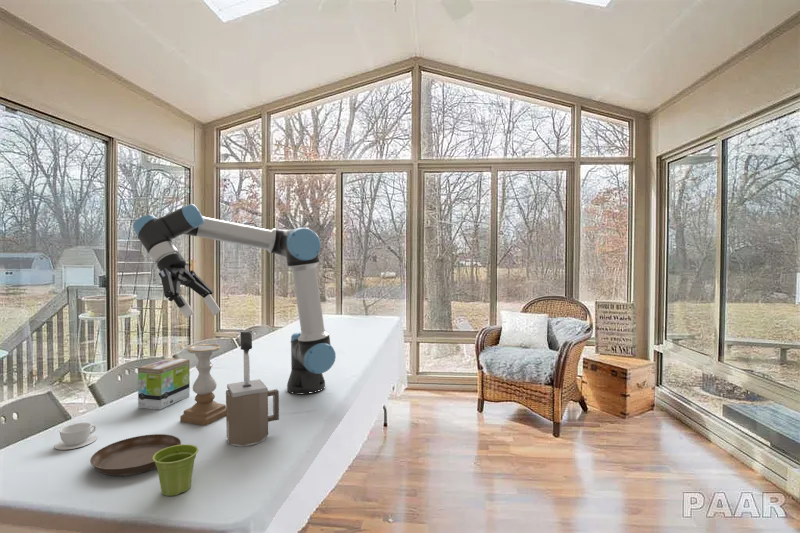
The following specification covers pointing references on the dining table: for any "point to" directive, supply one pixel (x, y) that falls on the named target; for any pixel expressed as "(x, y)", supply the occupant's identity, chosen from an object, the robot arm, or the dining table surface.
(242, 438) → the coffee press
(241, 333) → the plunger
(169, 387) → the tea box
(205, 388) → the candle holder
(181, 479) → the plant pot
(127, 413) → the dining table surface
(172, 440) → the plant saucer
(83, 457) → the dining table surface
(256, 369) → the dining table surface
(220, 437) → the dining table surface
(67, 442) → the teacup
